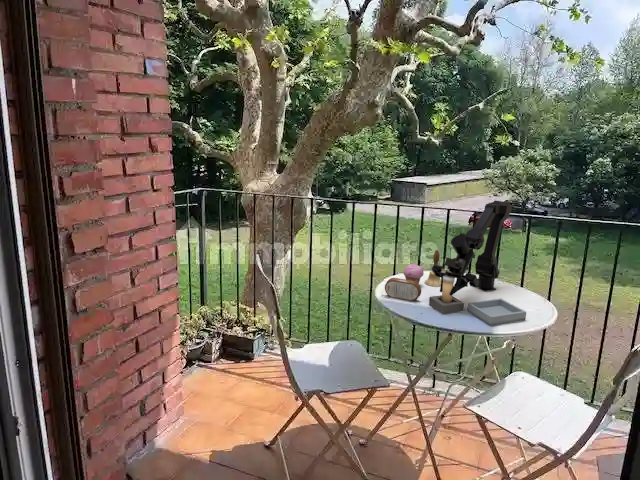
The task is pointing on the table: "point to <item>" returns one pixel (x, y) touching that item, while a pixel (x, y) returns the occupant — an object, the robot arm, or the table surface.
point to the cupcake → (413, 272)
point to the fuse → (447, 288)
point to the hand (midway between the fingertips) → (445, 293)
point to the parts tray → (496, 312)
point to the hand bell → (432, 278)
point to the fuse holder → (446, 305)
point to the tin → (403, 289)
